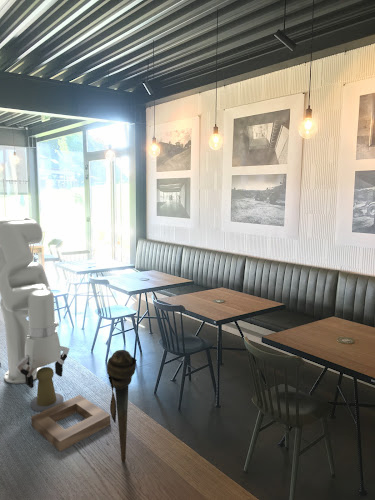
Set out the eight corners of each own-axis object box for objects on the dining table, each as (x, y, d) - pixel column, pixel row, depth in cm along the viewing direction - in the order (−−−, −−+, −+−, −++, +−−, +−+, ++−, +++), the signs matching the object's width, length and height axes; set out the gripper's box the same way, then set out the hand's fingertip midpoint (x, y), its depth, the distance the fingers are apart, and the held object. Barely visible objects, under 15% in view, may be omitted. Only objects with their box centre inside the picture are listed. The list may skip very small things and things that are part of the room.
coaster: (24, 403, 125) (24, 401, 124) (53, 391, 132) (53, 389, 132) (39, 415, 118) (39, 414, 118) (69, 402, 125) (69, 400, 125)
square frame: (31, 426, 113) (31, 416, 113) (80, 403, 125) (79, 394, 124) (60, 451, 102) (59, 441, 102) (110, 424, 114) (110, 415, 114)
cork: (49, 407, 121) (47, 374, 119) (32, 404, 123) (30, 372, 121) (60, 397, 127) (58, 365, 125) (43, 394, 128) (41, 363, 127)
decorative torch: (127, 448, 104) (125, 342, 98) (142, 462, 99) (140, 351, 93) (104, 460, 99) (101, 349, 94) (119, 475, 94) (115, 359, 89)
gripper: (61, 319, 130) (63, 367, 133) (8, 334, 117) (12, 386, 120) (73, 325, 125) (75, 375, 128) (20, 342, 112) (23, 396, 115)
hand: (44, 380), depth 124 cm, fingers open, 9 cm apart
